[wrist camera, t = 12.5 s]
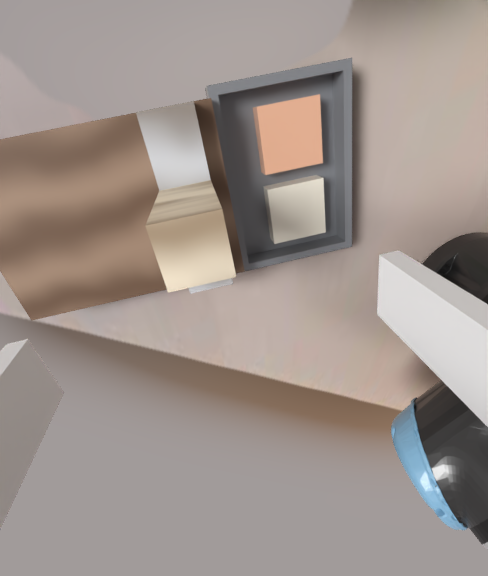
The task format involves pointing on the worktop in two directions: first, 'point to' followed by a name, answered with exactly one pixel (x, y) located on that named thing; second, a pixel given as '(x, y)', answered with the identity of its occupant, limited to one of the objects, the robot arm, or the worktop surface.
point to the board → (89, 213)
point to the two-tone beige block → (184, 203)
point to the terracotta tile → (289, 134)
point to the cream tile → (295, 208)
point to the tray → (250, 180)
